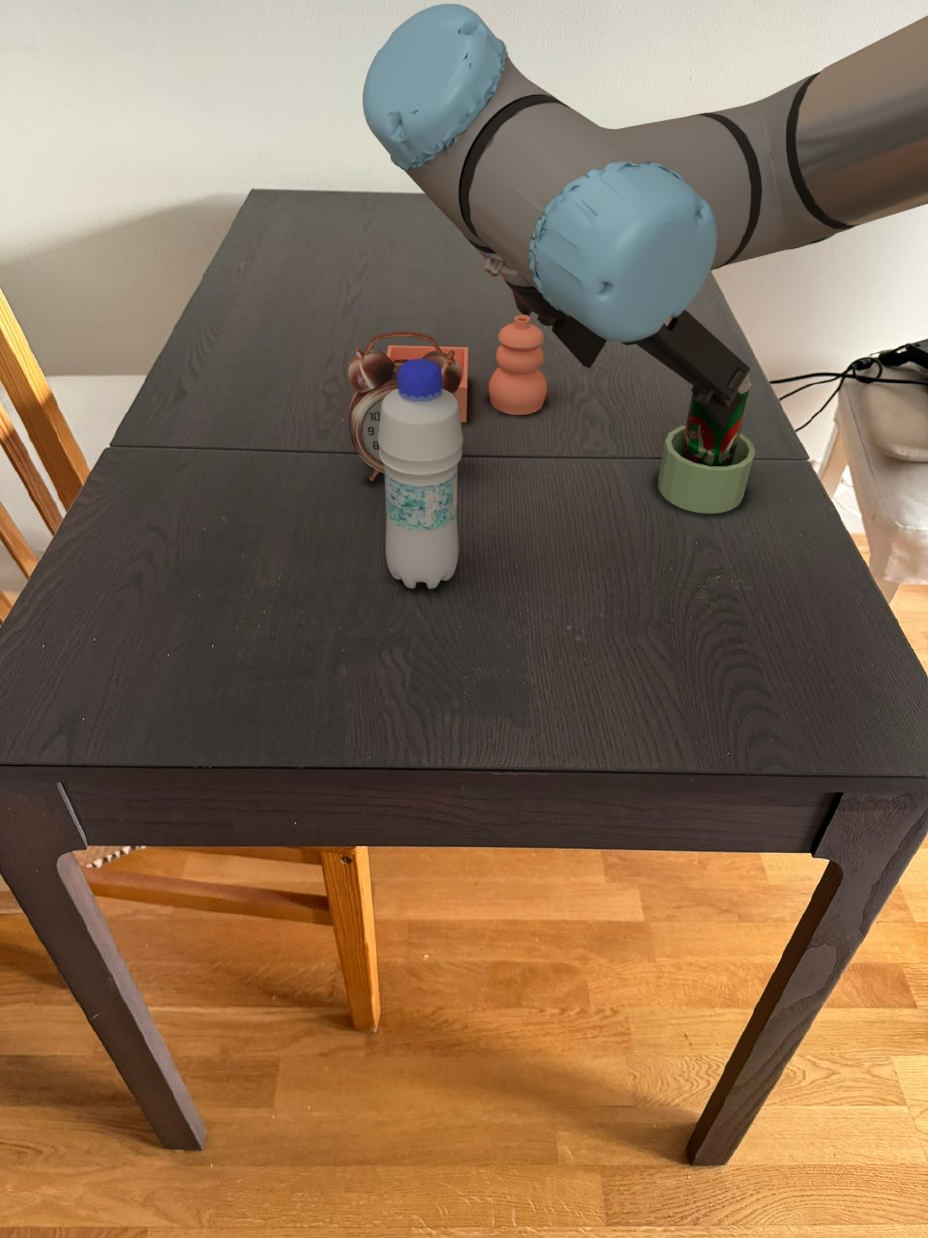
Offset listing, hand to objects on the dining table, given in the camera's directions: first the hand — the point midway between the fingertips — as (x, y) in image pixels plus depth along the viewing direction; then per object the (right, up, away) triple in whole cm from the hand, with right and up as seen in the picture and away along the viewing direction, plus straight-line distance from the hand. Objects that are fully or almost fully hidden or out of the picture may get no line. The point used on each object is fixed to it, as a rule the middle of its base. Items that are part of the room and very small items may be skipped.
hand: (659, 381), depth 76 cm
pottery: (-16, +5, +29) cm, 33 cm away
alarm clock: (-22, -5, +18) cm, 29 cm away
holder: (+8, -7, +17) cm, 19 cm away
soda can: (+8, -6, +16) cm, 19 cm away
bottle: (-20, -16, +6) cm, 26 cm away
